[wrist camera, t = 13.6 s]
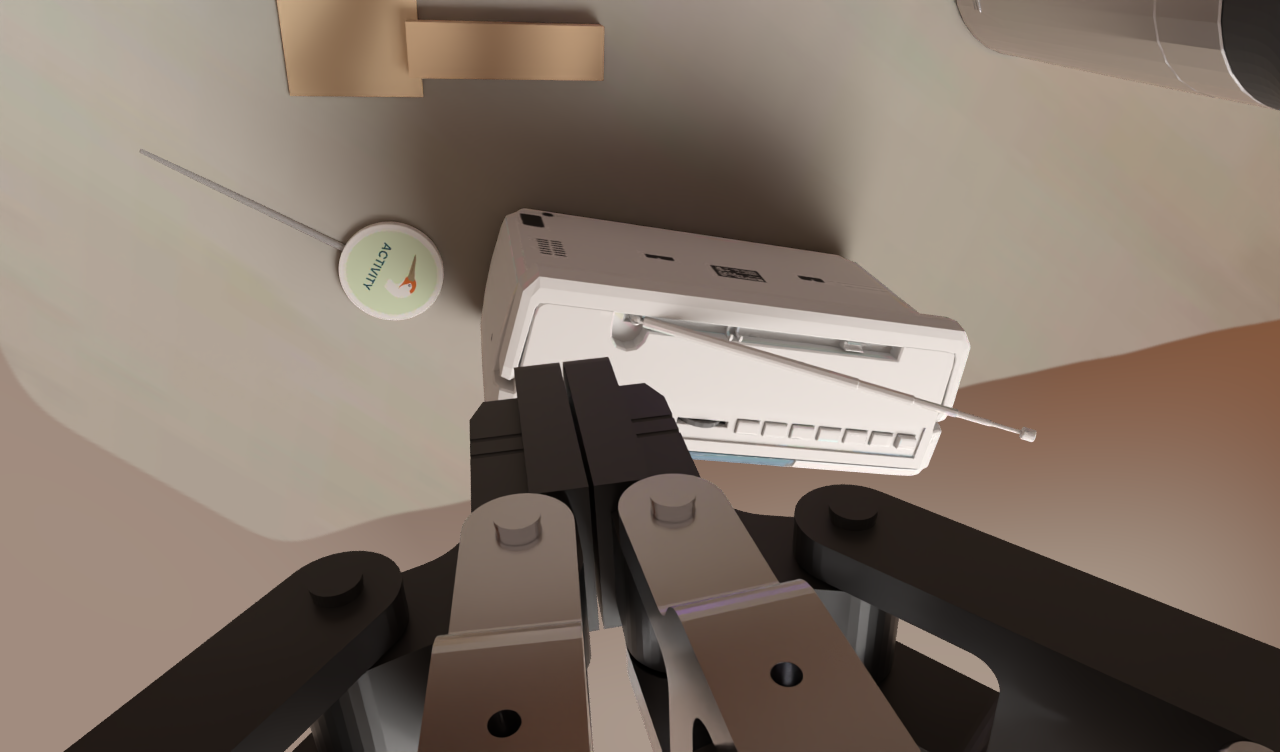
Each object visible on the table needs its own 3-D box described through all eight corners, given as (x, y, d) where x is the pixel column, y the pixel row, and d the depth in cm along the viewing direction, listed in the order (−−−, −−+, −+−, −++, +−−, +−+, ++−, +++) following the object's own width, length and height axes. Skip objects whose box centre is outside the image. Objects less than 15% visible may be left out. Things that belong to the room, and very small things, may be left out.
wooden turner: (600, 1, 41) (604, 3, 39) (598, 97, 43) (603, 102, 41) (277, -9, 38) (270, -7, 37) (291, 94, 40) (285, 99, 39)
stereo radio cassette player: (477, 331, 47) (489, 563, 29) (497, 184, 43) (524, 347, 26) (822, 369, 52) (1007, 585, 35) (864, 241, 49) (1092, 407, 31)
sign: (158, 100, 39) (461, 254, 44) (164, 97, 39) (461, 249, 45) (119, 199, 40) (416, 336, 46) (125, 195, 41) (416, 330, 46)
